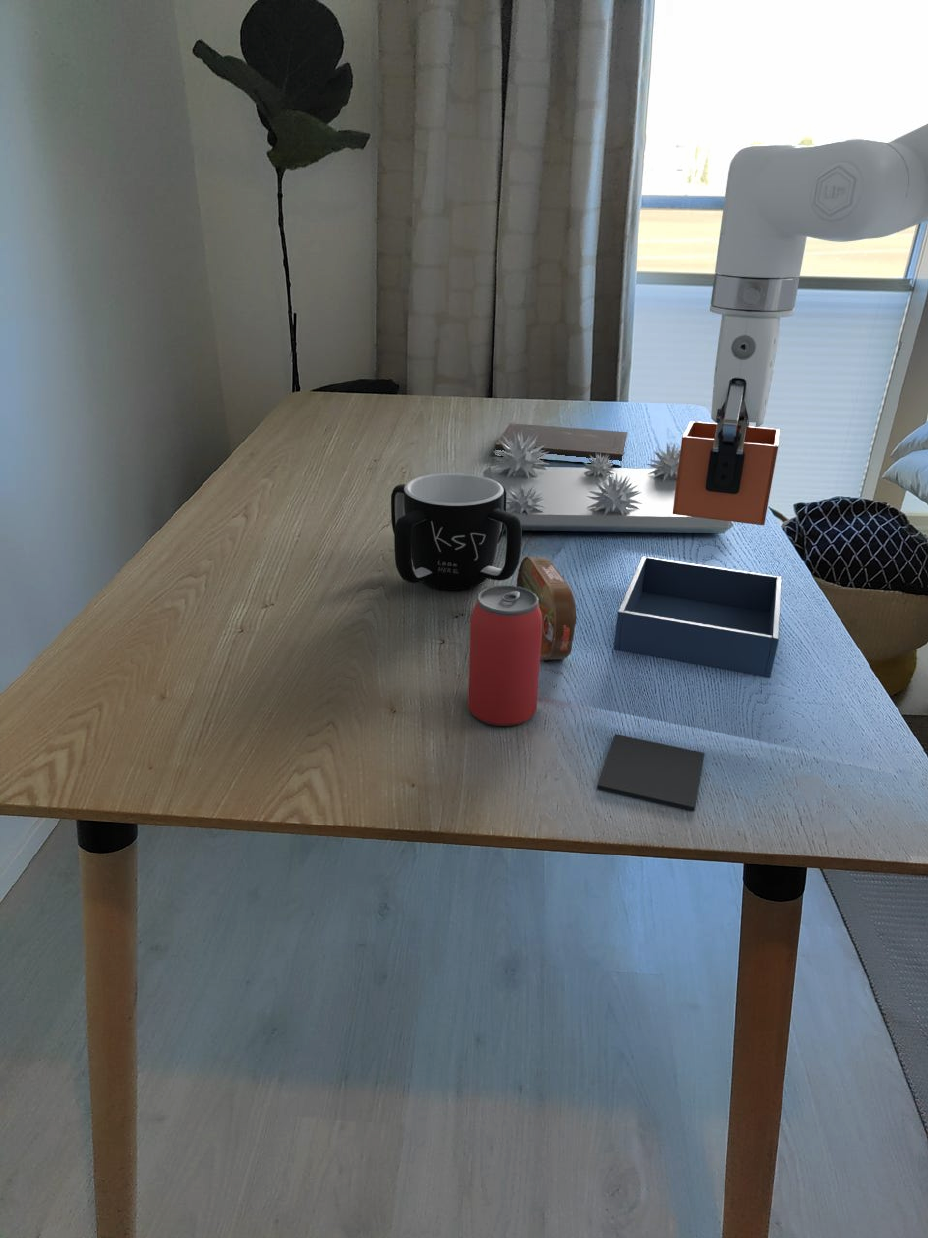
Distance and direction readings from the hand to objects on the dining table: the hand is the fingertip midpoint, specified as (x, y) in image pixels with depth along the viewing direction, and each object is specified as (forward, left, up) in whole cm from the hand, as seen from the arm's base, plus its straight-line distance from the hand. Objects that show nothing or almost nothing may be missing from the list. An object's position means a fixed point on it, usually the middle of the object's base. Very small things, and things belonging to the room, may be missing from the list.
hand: (725, 479), depth 87 cm
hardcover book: (+32, -67, -19) cm, 76 cm away
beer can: (+16, +22, -19) cm, 33 cm away
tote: (0, -1, -18) cm, 18 cm away
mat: (+1, +27, -18) cm, 32 cm away
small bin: (0, 0, -3) cm, 3 cm away
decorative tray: (+19, -38, -19) cm, 46 cm away
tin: (+16, +7, -19) cm, 26 cm away
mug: (+31, -5, -19) cm, 37 cm away
